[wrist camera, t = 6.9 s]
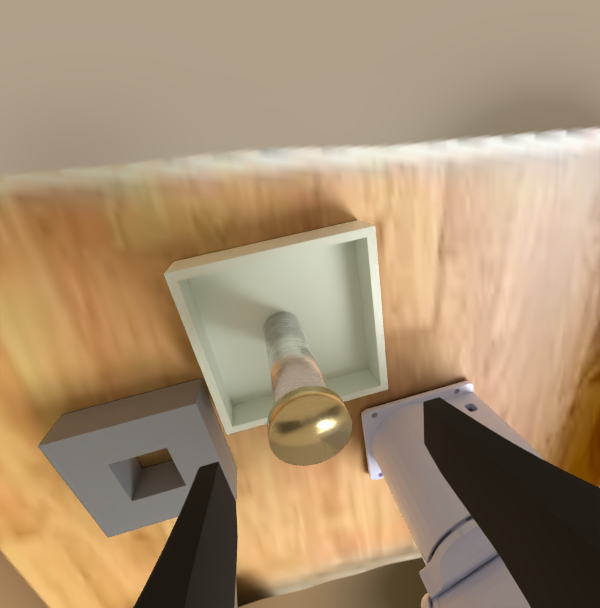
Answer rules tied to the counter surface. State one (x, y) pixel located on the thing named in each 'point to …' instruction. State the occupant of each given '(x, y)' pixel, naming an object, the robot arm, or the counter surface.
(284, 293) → the tray
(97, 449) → the pin block
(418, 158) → the counter surface
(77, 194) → the counter surface
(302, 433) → the steel pin
